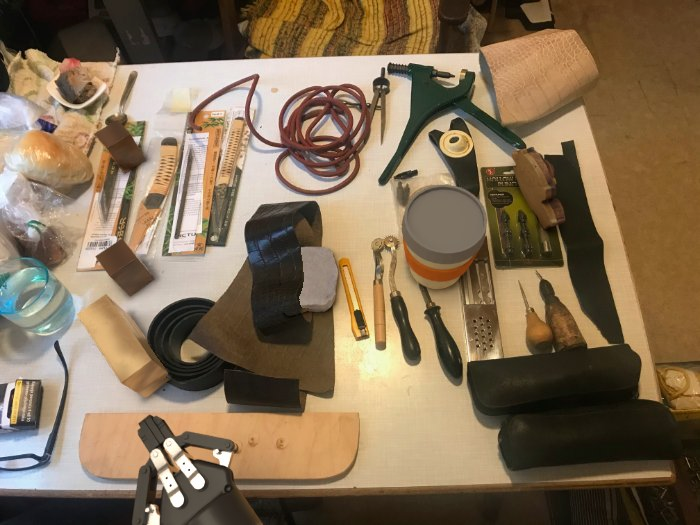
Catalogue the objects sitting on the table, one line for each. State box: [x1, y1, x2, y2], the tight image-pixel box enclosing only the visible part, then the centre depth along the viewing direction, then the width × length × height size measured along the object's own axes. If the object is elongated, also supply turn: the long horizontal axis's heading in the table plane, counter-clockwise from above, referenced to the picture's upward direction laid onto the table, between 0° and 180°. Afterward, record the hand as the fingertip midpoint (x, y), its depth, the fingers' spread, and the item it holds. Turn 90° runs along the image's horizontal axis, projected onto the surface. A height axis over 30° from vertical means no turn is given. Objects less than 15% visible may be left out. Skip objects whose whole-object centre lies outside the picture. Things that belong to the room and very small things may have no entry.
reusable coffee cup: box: [401, 184, 488, 290], centre depth 81 cm, size 13×13×15 cm
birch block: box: [76, 294, 171, 399], centre depth 79 cm, size 5×14×9 cm, turn 41°
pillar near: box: [95, 238, 156, 297], centre depth 86 cm, size 5×5×8 cm
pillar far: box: [94, 119, 147, 175], centre depth 99 cm, size 5×5×8 cm
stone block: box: [299, 246, 339, 313], centre depth 86 cm, size 12×5×10 cm
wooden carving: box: [511, 146, 566, 230], centre depth 89 cm, size 16×5×10 cm, turn 20°
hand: (146, 420), depth 58 cm, fingers closed
